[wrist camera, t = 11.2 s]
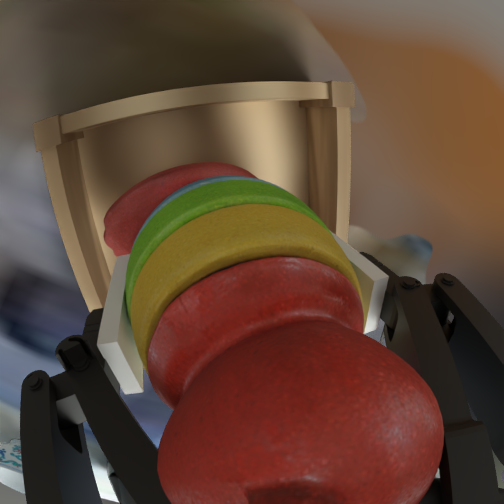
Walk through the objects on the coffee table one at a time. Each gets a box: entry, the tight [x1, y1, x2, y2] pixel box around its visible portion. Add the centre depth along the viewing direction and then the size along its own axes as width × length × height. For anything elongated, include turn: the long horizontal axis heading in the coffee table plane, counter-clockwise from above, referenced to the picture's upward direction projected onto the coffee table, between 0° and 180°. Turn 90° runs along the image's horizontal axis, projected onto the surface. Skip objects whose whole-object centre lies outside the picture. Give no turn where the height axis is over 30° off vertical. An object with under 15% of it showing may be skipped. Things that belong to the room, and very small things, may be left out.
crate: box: [33, 81, 355, 369], centre depth 19 cm, size 18×18×5 cm
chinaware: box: [0, 439, 25, 494], centre depth 25 cm, size 15×15×8 cm
